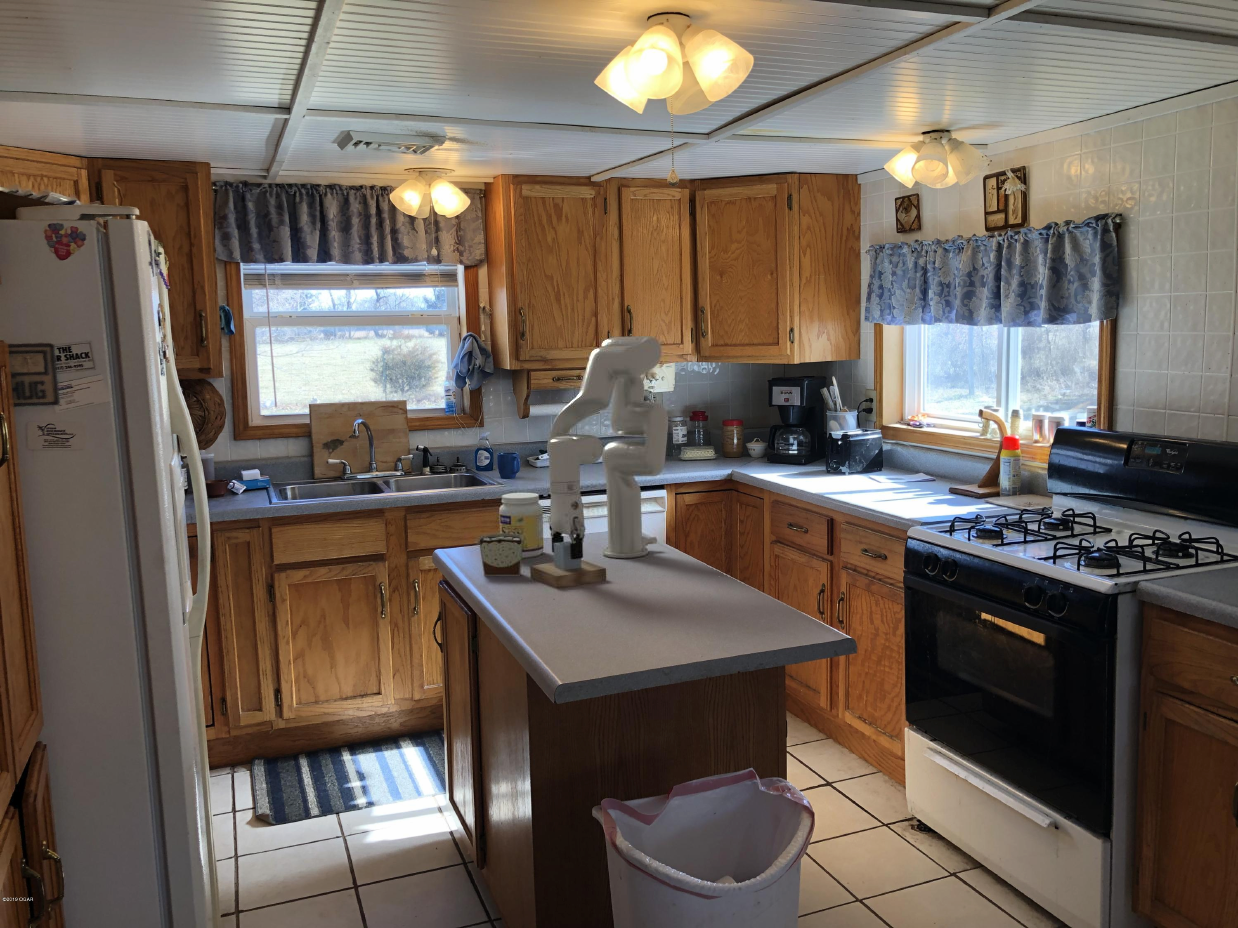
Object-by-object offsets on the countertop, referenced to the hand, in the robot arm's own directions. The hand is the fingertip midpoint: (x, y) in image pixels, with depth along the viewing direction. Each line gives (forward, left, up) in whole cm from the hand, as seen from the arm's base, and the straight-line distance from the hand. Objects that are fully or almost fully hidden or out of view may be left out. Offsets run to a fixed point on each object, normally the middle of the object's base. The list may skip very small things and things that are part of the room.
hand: (567, 555), depth 248 cm
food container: (+10, -16, -6) cm, 20 cm away
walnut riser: (0, 0, -6) cm, 6 cm away
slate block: (0, 0, -3) cm, 3 cm away
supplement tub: (-4, -34, -6) cm, 35 cm away
